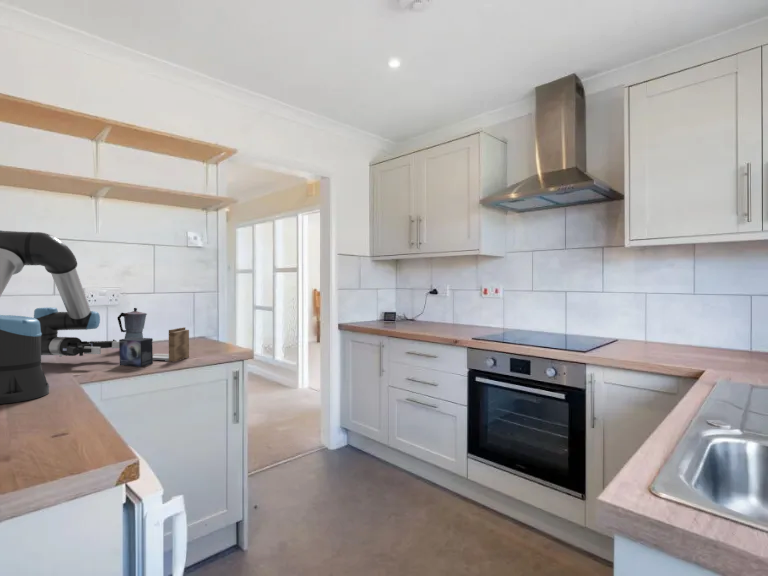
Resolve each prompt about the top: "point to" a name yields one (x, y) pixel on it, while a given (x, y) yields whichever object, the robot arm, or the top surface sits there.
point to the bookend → (176, 346)
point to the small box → (136, 351)
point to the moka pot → (133, 323)
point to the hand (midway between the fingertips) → (114, 347)
